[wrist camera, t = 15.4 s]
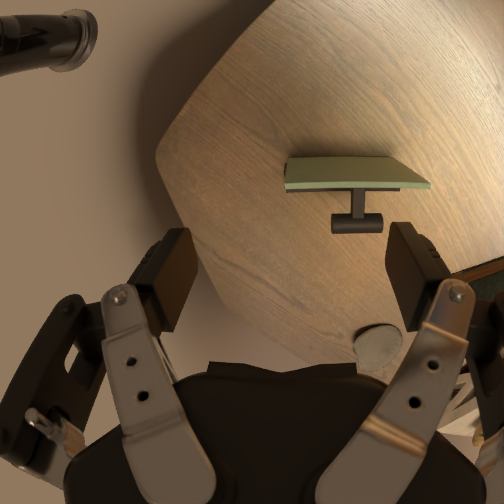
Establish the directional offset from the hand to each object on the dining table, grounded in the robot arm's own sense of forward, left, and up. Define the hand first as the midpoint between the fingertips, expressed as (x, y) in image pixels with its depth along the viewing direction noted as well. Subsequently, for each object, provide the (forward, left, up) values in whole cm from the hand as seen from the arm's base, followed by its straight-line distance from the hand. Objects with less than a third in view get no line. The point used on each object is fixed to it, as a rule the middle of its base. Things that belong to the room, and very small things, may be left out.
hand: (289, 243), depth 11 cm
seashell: (+16, -41, -28) cm, 52 cm away
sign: (+6, -3, -21) cm, 22 cm away
